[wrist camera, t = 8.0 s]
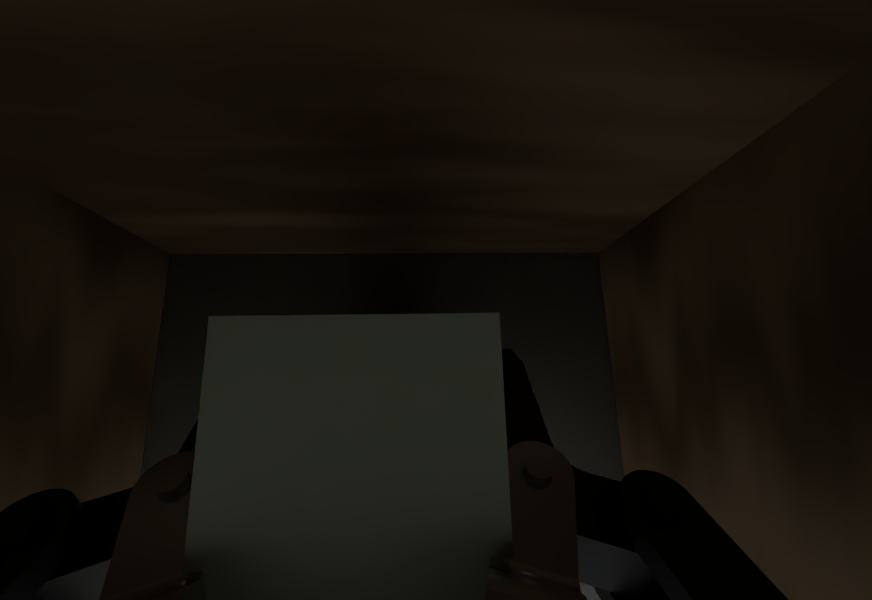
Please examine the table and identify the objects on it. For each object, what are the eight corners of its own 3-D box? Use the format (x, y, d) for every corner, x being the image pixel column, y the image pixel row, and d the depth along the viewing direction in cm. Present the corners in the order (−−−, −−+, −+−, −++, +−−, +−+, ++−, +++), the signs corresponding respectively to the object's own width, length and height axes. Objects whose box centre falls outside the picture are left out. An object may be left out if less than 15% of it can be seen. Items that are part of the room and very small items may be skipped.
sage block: (450, 355, 15) (499, 312, 6) (454, 481, 14) (518, 640, 5) (331, 357, 15) (208, 316, 6) (326, 486, 14) (172, 661, 5)
